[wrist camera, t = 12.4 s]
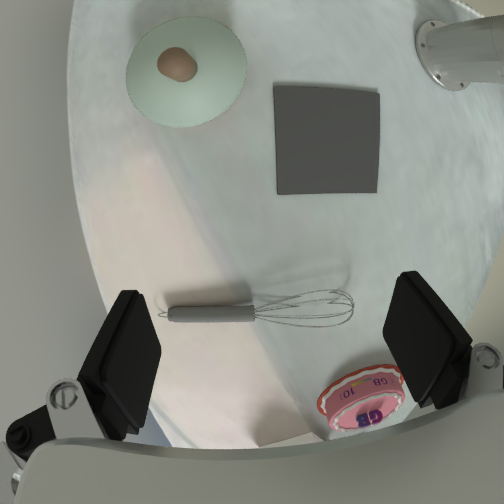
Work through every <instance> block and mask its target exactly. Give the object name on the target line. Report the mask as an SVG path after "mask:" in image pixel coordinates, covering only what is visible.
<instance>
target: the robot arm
mask: <svg viewBox="0 0 504 504" xmlns="http://www.w3.org/2000/svg"><path fill="white" fill-rule="evenodd" d="M416 49H417V53H418V56H419V59H420V61H421V63H422V65H423V67H424V69H425V70H426V72H427V73H428V75H429V76H430V77H431V78H432V79H433V80H434V81H435V82H436V83H437V84H438V85H440V86H441V87H443V88H445V89H448V90H452V91H459V90H463V89H465V88H466V87H467V86H468V85H469V84H470V82H485V83H500V84H504V15H497V16H491V17H484V18H479V19H474V20H469V21H464V22H459V23H455V24H451V25H448V24H446V23H445V22H442V21H439V20H430V21H427V22H424V23H423V24H422V25H420V27H419V28H418V30H417V33H416ZM383 337H384V339H385V341H386V343H387V345H388V347H389V349H390V351H391V353H392V355H393V357H394V359H395V361H396V363H397V365H398V367H399V369H400V372H401V374H402V376H403V378H404V380H405V382H406V384H407V386H408V389H409V391H410V393H411V395H412V397H413V399H414V401H415V402H418V404H419V406H420V408H423V407H426V406H429V405H432V404H433V403H434V406H435V410H434V412H432V413H429V414H426V415H423V416H420V417H418V418H415V419H412V420H409V421H406V422H402V423H399V424H396V425H392V426H389V427H385V428H382V429H378V430H374V431H370V432H366V433H362V434H358V435H353V436H348V437H344V438H339V439H333V440H328V441H322V442H315V443H309V444H301V445H293V446H283V447H272V448H257V449H191V448H177V447H164V446H154V445H145V444H138V443H131V442H126V441H125V440H124V439H125V437H126V433H129V434H135V435H138V433H139V428H142V427H143V426H144V424H145V419H146V415H147V410H148V406H149V402H150V397H151V393H152V389H153V385H154V381H155V377H156V373H157V369H158V365H159V361H160V357H161V345H160V342H159V340H158V337H157V334H156V331H155V329H154V326H153V323H152V320H151V317H150V314H149V311H148V308H147V305H146V302H145V299H144V296H143V294H139V292H138V291H137V290H122V291H121V292H120V294H119V296H118V297H117V299H116V301H115V303H114V305H113V306H112V308H111V310H110V312H109V314H108V316H107V318H106V319H105V321H104V323H103V325H102V327H101V329H100V331H99V333H98V335H97V337H96V339H95V341H94V343H93V345H92V347H91V349H90V351H89V353H88V355H87V357H86V359H85V361H84V363H83V366H82V368H81V370H80V372H79V375H78V377H77V380H75V379H72V378H64V379H61V380H58V381H57V382H55V383H54V384H53V385H52V386H51V387H50V388H49V390H48V392H47V395H46V405H44V406H42V407H40V408H39V409H37V410H35V411H33V412H31V413H29V414H27V415H25V416H24V417H22V418H20V419H18V420H16V421H14V422H13V423H12V424H11V425H10V426H9V428H8V430H7V433H6V443H4V442H3V441H2V442H1V443H0V504H504V365H503V359H502V356H501V353H500V352H499V351H498V349H497V348H495V347H494V346H493V345H491V344H488V343H478V344H476V345H475V346H474V347H473V348H472V347H471V345H470V344H471V343H472V341H473V340H472V338H471V337H470V336H469V334H468V333H467V332H466V330H465V329H464V328H463V326H462V325H461V324H460V322H459V321H458V320H457V318H456V317H455V316H454V315H453V313H452V312H451V311H450V310H449V308H448V307H447V306H446V305H445V303H444V302H443V301H442V300H441V299H440V297H439V296H438V295H437V294H436V293H435V291H434V290H433V289H432V288H431V287H430V286H429V284H428V283H427V282H426V281H425V280H424V279H423V278H422V276H421V275H420V274H419V273H418V272H417V271H407V272H402V273H401V275H400V276H399V277H398V278H397V280H396V284H395V288H394V292H393V296H392V299H391V303H390V307H389V310H388V314H387V317H386V320H385V324H384V327H383Z"/></svg>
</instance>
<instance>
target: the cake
mask: <svg viewBox="0 0 504 504" xmlns="http://www.w3.org/2000/svg"><path fill="white" fill-rule="evenodd" d="M403 380H404V378H403V376H402V374H401V372H400V369H399V367H397V366H395V365H388V364H384V365H375V366H371V367H367V368H363V369H360V370H358V371H355V372H353V373H350V374H348V375H346V376H344V377H342V378H341V379H339V380H337V381H336V382H334V383H333V384H332V385H330V386H329V387H328V388H327V389H326V390H325V391H324V392H323V393H322V394H321V395H320V397H319V399H318V401H317V408H318V410H319V412H320V413H322V414H323V415H325V416H327V419H328V423H329V425H330V427H331V428H332V429H334V430H337V431H344V432H347V431H358V430H362V429H367V428H369V427H371V426H374V425H377V424H379V423H380V422H382V421H384V420H386V419H388V418H389V417H390V416H391V415H392V414H393V413H395V412H396V411H397V410H398V409H399V407H400V406H401V405H402V403H403V402H404V399H405V394H404V391H403V389H402V386H401V385H402V383H403Z"/></svg>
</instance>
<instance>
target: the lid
mask: <svg viewBox="0 0 504 504" xmlns="http://www.w3.org/2000/svg"><path fill="white" fill-rule="evenodd" d="M246 72H247V60H246V54H245V51H244V48H243V46H242V44H241V42H240V40H239V39H238V37H237V36H236V35H235V34H234V33H233V32H232V31H231V30H230V29H229V28H227V27H226V26H225V25H223V24H221V23H219V22H217V21H215V20H212V19H208V18H204V17H181V18H177V19H173V20H170V21H167V22H165V23H163V24H161V25H159V26H157V27H156V28H154V29H153V30H151V31H150V32H149V33H148V34H146V35H145V36H144V37H143V38H142V39H141V40H140V42H139V43H138V44H137V46H136V47H135V49H134V50H133V52H132V54H131V56H130V59H129V62H128V65H127V70H126V87H127V91H128V95H129V97H130V99H131V101H132V103H133V105H134V106H135V107H136V109H137V110H138V111H139V112H140V113H141V114H142V115H143V116H145V117H146V118H148V119H149V120H151V121H153V122H155V123H157V124H160V125H163V126H168V127H177V128H182V127H191V126H196V125H200V124H203V123H206V122H208V121H210V120H212V119H214V118H216V117H217V116H219V115H220V114H222V113H223V112H224V111H226V110H227V109H228V108H229V107H230V106H231V105H232V103H233V102H234V101H235V100H236V98H237V97H238V95H239V94H240V92H241V90H242V87H243V85H244V82H245V79H246Z"/></svg>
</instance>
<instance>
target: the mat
mask: <svg viewBox="0 0 504 504" xmlns="http://www.w3.org/2000/svg"><path fill="white" fill-rule="evenodd" d="M273 89H274V110H275V133H276V160H277V194H278V195H289V194H321V193H377V181H378V165H379V143H380V94H379V93H371V92H364V91H355V90H345V89H333V88H318V87H273Z"/></svg>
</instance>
